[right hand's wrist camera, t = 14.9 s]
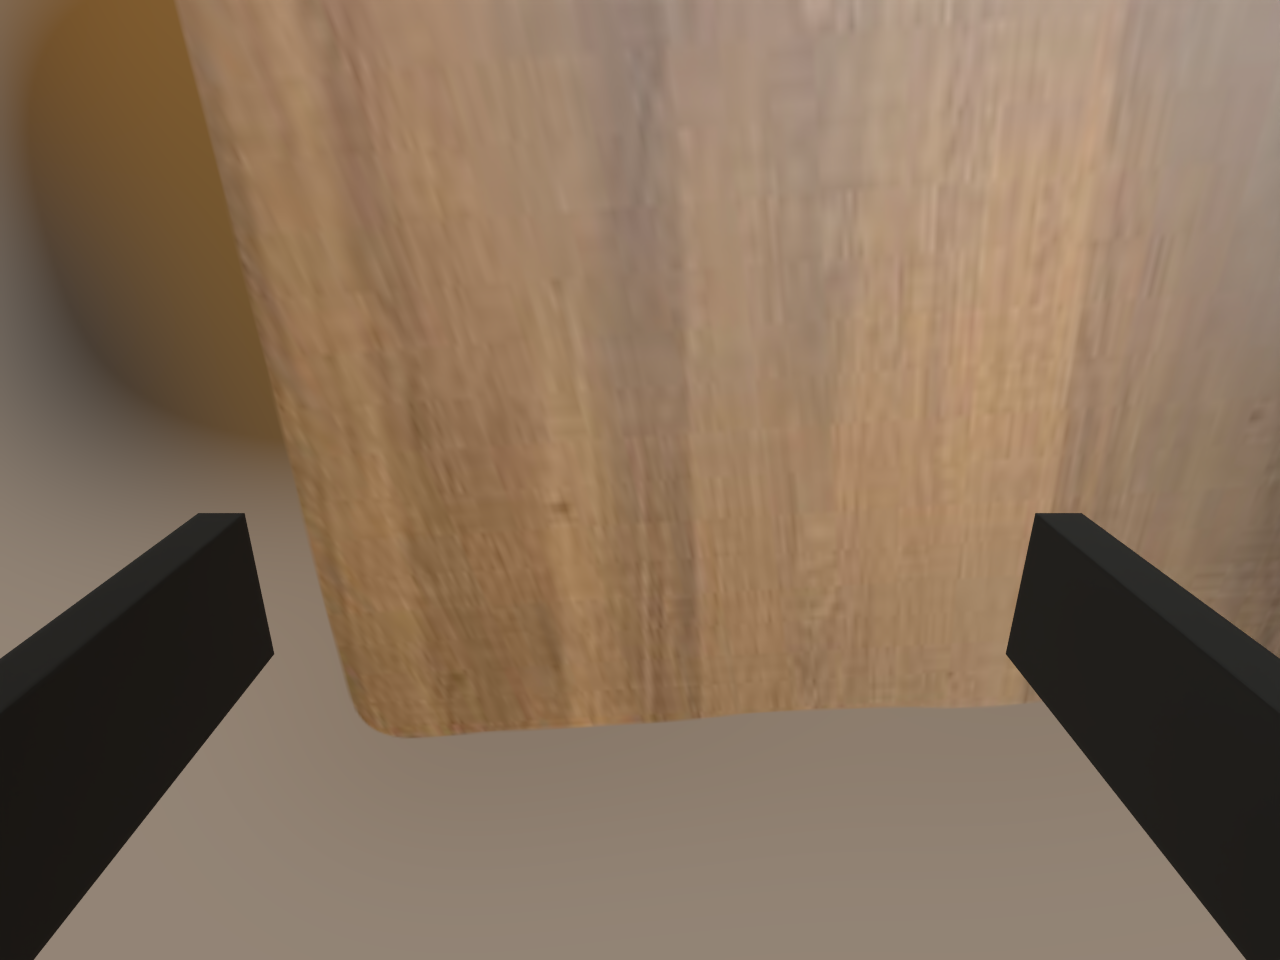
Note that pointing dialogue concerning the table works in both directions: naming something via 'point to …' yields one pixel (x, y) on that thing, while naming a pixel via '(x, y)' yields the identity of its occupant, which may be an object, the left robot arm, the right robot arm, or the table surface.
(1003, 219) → the table surface
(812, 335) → the table surface
